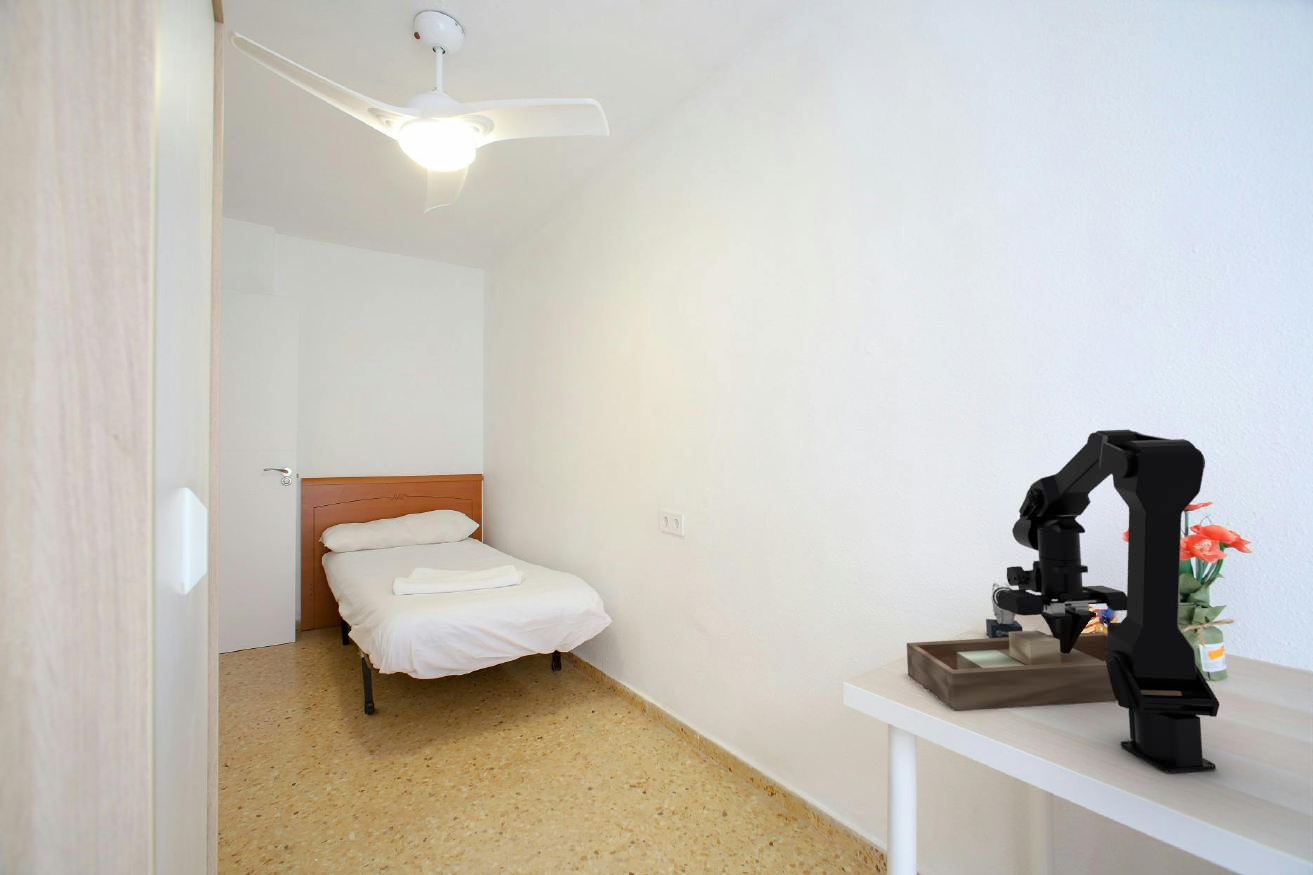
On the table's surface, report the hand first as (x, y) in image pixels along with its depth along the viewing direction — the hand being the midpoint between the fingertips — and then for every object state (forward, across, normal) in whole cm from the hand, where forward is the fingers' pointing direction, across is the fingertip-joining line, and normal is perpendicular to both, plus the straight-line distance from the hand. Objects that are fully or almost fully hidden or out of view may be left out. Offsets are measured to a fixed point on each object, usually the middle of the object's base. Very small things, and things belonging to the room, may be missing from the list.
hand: (1064, 652), depth 94 cm
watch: (+5, -5, -22) cm, 23 cm away
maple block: (+1, +5, 0) cm, 5 cm away
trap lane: (+5, +5, 0) cm, 7 cm away
